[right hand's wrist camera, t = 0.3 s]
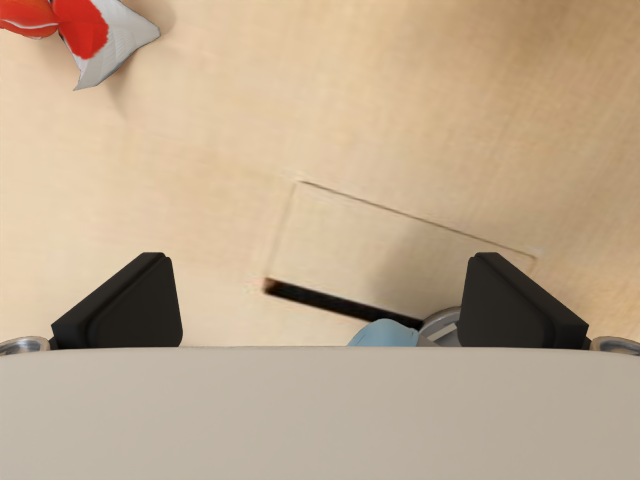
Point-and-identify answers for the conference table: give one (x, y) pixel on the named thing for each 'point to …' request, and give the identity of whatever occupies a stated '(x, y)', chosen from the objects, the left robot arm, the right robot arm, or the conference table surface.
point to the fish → (83, 31)
